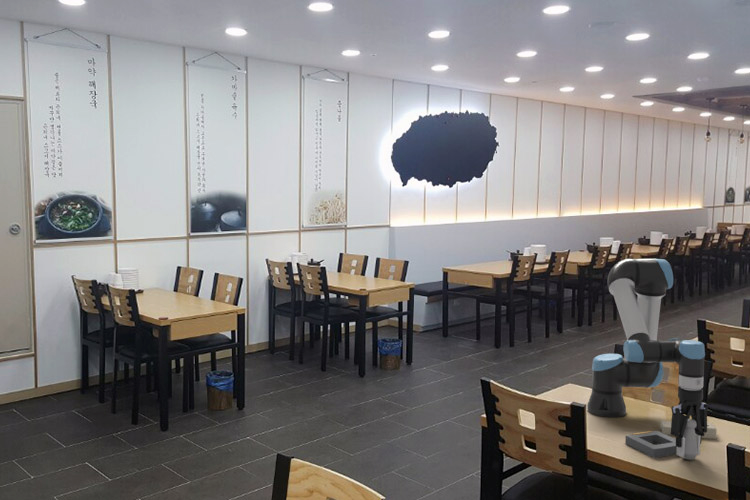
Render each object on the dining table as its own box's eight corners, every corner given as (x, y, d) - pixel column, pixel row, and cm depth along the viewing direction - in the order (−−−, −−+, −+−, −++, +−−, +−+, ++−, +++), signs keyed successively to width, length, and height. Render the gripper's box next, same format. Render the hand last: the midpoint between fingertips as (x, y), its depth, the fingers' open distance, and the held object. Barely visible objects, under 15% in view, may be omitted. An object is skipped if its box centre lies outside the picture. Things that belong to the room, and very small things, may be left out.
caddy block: (625, 443, 238) (625, 434, 238) (656, 438, 242) (657, 430, 242) (653, 457, 225) (653, 448, 224) (686, 452, 229) (686, 443, 229)
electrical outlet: (660, 418, 254) (712, 422, 249) (660, 428, 254) (712, 433, 249) (663, 424, 247) (716, 428, 242) (663, 435, 247) (716, 439, 242)
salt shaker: (675, 454, 226) (676, 416, 225) (691, 453, 227) (692, 416, 225) (684, 461, 220) (686, 422, 219) (701, 460, 221) (702, 422, 220)
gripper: (676, 393, 215) (674, 462, 217) (721, 387, 221) (718, 455, 223) (659, 387, 222) (657, 454, 224) (703, 381, 228) (701, 446, 230)
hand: (688, 454), depth 223 cm, fingers closed on salt shaker, 6 cm apart
